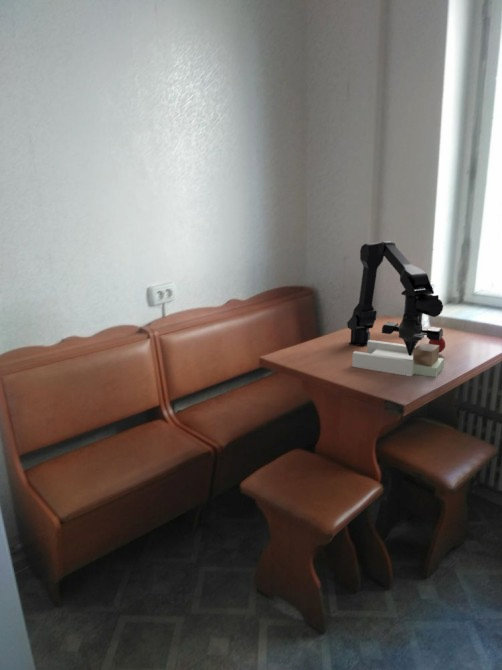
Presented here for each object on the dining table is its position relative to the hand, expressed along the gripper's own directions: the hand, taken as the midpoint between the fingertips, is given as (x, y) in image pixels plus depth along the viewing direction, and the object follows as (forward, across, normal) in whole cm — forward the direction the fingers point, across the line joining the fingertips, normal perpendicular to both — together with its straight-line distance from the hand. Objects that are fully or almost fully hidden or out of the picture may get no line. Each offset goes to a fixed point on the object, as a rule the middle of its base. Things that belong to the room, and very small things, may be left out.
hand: (410, 355), depth 168 cm
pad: (+4, +6, 0) cm, 8 cm away
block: (+1, +5, 0) cm, 5 cm away
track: (+4, -7, 0) cm, 8 cm away
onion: (+4, +5, +18) cm, 19 cm away
